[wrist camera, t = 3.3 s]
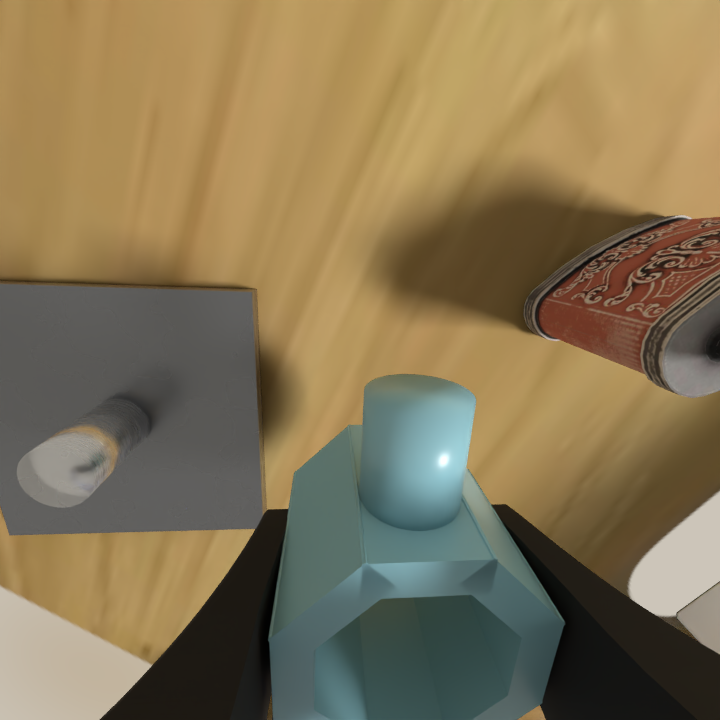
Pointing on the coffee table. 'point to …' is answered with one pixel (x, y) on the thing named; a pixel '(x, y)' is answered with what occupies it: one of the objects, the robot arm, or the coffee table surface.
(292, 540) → the elbow collar
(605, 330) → the lighter
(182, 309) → the base
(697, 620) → the gable box
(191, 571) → the coffee table surface
